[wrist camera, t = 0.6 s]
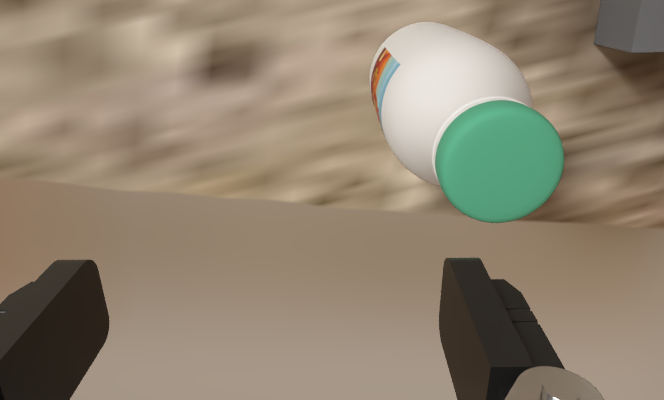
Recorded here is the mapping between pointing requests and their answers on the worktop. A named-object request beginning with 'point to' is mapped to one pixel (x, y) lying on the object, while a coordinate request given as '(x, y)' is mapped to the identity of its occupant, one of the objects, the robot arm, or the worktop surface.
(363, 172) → the worktop surface
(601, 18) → the socket block
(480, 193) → the milk bottle
